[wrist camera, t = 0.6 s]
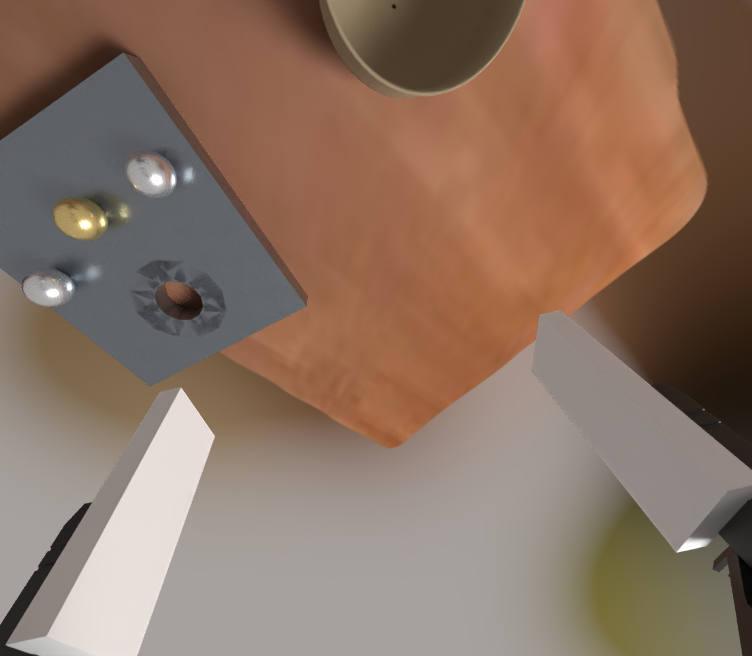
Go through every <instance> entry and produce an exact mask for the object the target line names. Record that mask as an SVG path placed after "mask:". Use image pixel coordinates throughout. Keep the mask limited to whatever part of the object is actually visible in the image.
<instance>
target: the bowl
mask: <svg viewBox="0 0 752 656" xmlns="http://www.w3.org/2000/svg"><path fill="white" fill-rule="evenodd" d="M525 1H526V0H319V3H320V9H321V13H322V16H323V20H324V23H325V26H326V29H327V32H328V34H329V37H330V39H331V42H332V43H333V45H334V47H335V49H336V51H337V53H338V54H339V56H340V58H341V59H342V61H343V62H344V63H345V65H346V66H347V67H348V69H349V70H350V71H351V72H352V73H353V74H354V75H355V76H356V77H357V78H358V79H359V80H360V81H361V82H363V83H364V84H365V85H367V86H368V87H370V88H371V89H373V90H375V91H377V92H379V93H381V94H384V95H387V96H390V97H396V98H414V97H419V96H434V95H440V94H444V93H447V92H450V91H453V90H455V89H457V88H459V87H461V86H463V85H465V84H466V83H468V82H469V81H471V80H472V79H473V78H475V77H476V76H477V75H478V74H480V73H481V72H482V71H483V70H484V69H485V68H486V67H487V66H488V65H489V64H490V63H491V62H492V61H493V59H494V58H495V57H496V56H497V54H498V53H499V52H500V50H501V49H502V47H503V46H504V45H505V43H506V42H507V40H508V38H509V36H510V35H511V33H512V31H513V29H514V27H515V25H516V23H517V21H518V19H519V17H520V14H521V12H522V9H523V7H524V4H525Z"/></svg>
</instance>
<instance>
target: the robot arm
mask: <svg viewBox="0 0 752 656" xmlns="http://www.w3.org/2000/svg"><path fill="white" fill-rule="evenodd" d="M532 372H533V373H534V375H535V376H536V377H537V378H538V380H539V381H540V382H541V383H542V385H543V386H544V387H545V388H546V390H547V391H548V392H549V393H550V395H551V396H552V397H553V399H554V400H555V401H556V402H557V404H558V405H559V406H560V407H561V409H562V410H563V411H564V412H565V414H566V415H567V416H568V417H569V419H570V420H571V421H572V422H573V423H574V425H575V426H576V427H577V429H578V430H579V431H580V432H581V433H582V435H583V436H584V437H585V439H586V440H587V441H588V442H589V444H590V445H591V446H592V447H593V449H594V450H595V451H596V452H597V454H598V455H599V456H600V457H601V459H602V460H603V461H604V462H605V464H606V465H607V466H608V467H609V469H610V470H611V471H612V472H613V474H614V475H615V476H616V477H617V479H618V480H619V481H620V482H621V484H622V485H623V486H624V487H625V489H626V490H627V491H628V492H629V494H630V495H631V496H632V498H633V499H634V500H635V501H636V503H637V504H638V505H639V506H640V507H641V509H642V510H643V511H644V513H645V514H646V515H647V516H648V518H649V519H650V520H651V521H652V523H653V524H654V525H655V526H656V528H657V529H658V530H659V531H660V533H661V534H662V535H663V536H664V538H665V539H666V540H667V541H668V542H669V544H670V545H671V546H672V548H673V549H674V550H675V551H676V552H681V551H686V550H690V549H695V548H699V547H704V546H708V545H709V543H710V542H711V541H712V540H713V539H714V538H715V537H716V536H717V535H718V534H719V535H721V537H722V538H723V539H724V540H725V541H726V542H727V543H728V544H729V545H730V546H729V547H728V548H727V549H726V550H724V552H722V554H720V556H718V558H716V559H715V561H714V565H713V570H716V571H718V572H720V571H721V570H722V569H723V568H724V567H725V566H726V565H727V564H728V567H729V572H730V573H729V577H730V579H731V586H732V592H733V598H734V604H735V611H736V617H737V624H738V630H739V637H740V643H741V649H742V655H743V656H752V445H750V444H749V443H748V442H747V441H745V440H744V439H743V438H741V437H740V436H739V435H738V434H736V433H735V432H734V431H732V430H731V429H730V428H728V427H727V426H726V425H722V424H721V421H719V420H718V419H717V418H715V417H714V416H713V415H712V414H710V413H709V412H706V411H705V410H704V408H703V407H701V406H700V405H699V404H698V403H696V402H695V401H694V400H692V399H691V398H690V397H688V396H687V395H686V394H684V393H682V392H680V391H678V390H676V389H674V388H672V387H670V386H668V385H666V384H664V383H658V384H653V385H649V384H648V383H647V382H646V381H645V380H643V379H642V378H641V377H640V376H639V375H637V374H636V373H635V372H634V371H633V370H631V369H630V368H629V367H628V366H627V365H625V364H624V363H623V362H622V361H621V360H619V359H618V358H617V357H616V356H615V355H613V354H612V353H611V352H610V351H609V350H607V349H606V348H605V347H604V346H603V345H601V344H600V343H599V342H598V341H597V340H595V339H594V338H593V337H592V336H590V335H589V334H588V333H587V332H586V331H585V330H583V329H582V328H581V327H580V326H579V325H578V324H576V323H575V322H574V321H573V320H572V319H570V318H569V317H568V316H567V315H566V314H564V313H563V312H562V311H561V310H559V311H554V312H550V313H545V314H540V318H539V324H538V331H537V338H536V345H535V351H534V358H533V365H532ZM214 437H215V436H214V435H213V433H212V432H211V430H210V429H209V427H208V426H207V424H206V423H205V422H204V420H203V419H202V417H201V416H200V414H199V413H198V411H197V410H196V408H195V407H194V406H193V404H192V403H191V401H190V400H189V398H188V397H187V395H186V394H185V392H184V391H183V390H182V388H176V389H171V390H167V391H162V392H159V394H158V396H157V397H156V399H155V401H154V402H153V404H152V406H151V407H150V409H149V410H148V412H147V414H146V415H145V417H144V419H143V420H142V422H141V424H140V425H139V427H138V428H137V430H136V432H135V433H134V435H133V437H132V438H131V440H130V442H129V443H128V445H127V447H126V448H125V450H124V451H123V453H122V455H121V456H120V458H119V460H118V461H117V463H116V464H115V467H114V468H113V469H112V471H111V473H110V474H109V476H108V478H107V480H106V481H105V482H104V484H103V486H102V488H101V489H100V491H99V492H98V494H97V496H96V497H95V499H94V500H93V502H91V503H86V504H84V505H83V506H82V507H81V508H80V509H79V510H78V512H76V513H75V515H74V516H73V517H72V518H71V519H70V520H69V521H68V522H67V523H66V524H65V525H64V527H63V529H62V530H61V531H60V533H59V535H58V536H57V538H56V539H55V541H54V542H53V544H52V546H51V550H50V551H48V552H47V553H46V555H45V556H44V558H43V559H42V561H41V562H40V564H39V566H38V567H39V569H38V570H37V571H35V572H34V573H33V575H32V577H31V578H30V580H29V581H28V583H27V584H26V586H25V587H24V589H23V590H22V592H21V594H20V595H19V597H18V598H17V600H16V601H15V603H14V604H13V606H12V608H11V609H10V611H9V612H8V614H7V615H6V617H5V618H4V620H3V621H2V623H1V625H0V656H137V654H138V652H139V649H140V646H141V643H142V640H143V638H144V635H145V632H146V629H147V626H148V623H149V621H150V618H151V615H152V612H153V609H154V606H155V604H156V601H157V598H158V595H159V592H160V589H161V587H162V584H163V581H164V578H165V575H166V572H167V570H168V567H169V564H170V561H171V558H172V555H173V553H174V550H175V547H176V544H177V542H178V539H179V536H180V533H181V530H182V527H183V525H184V522H185V519H186V516H187V513H188V510H189V508H190V505H191V502H192V499H193V496H194V494H195V491H196V488H197V485H198V482H199V479H200V476H201V474H202V471H203V468H204V465H205V462H206V460H207V456H208V454H209V451H210V448H211V446H212V443H213V440H214Z"/></svg>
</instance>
